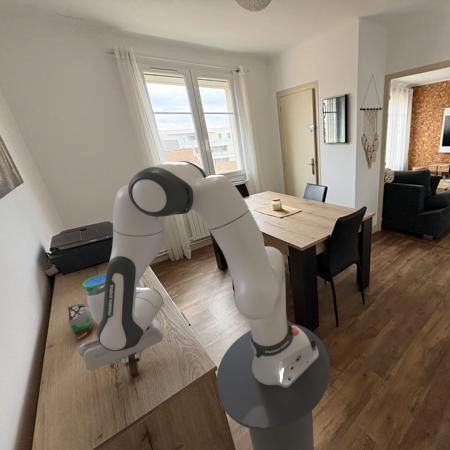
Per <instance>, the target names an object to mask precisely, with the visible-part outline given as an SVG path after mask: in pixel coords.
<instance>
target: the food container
mask: <svg viewBox="0 0 450 450" xmlns="http://www.w3.org/2000/svg"><path fill="white" fill-rule="evenodd" d="M66 309H67V310H68V325H69V326H70V328H71V330H72V331H73V333H74V335H75V337H76V338H77V340H78V341H81V340H83V339H84V338H86V337H88V336H90V334H91V333H92V332H93V331H94V329H95V327H94V324H93V320H92V318H91V317H92V316H91V312H90V310H89V307H88V305H86V304H84V303H76V304H72V305H69V306H67V308H66Z"/></svg>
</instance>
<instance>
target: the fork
mask: <svg viewBox="0 0 450 450" xmlns="http://www.w3.org/2000/svg"><path fill="white" fill-rule="evenodd" d="M136 354H137V352H135V353H133V354H130V355H128V356H127V358H128V360H129V366H128V369H129V375H130V377H131V378H132V379H136V378H138V377H140V370H139V361H138V362H136V360H135V355H136Z"/></svg>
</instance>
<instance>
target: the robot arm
mask: <svg viewBox="0 0 450 450" xmlns="http://www.w3.org/2000/svg"><path fill="white" fill-rule="evenodd" d="M190 211H195V212H196V213H197V214H199V216H200V217H201V218H202V220H203V221H204V223H205V225H206V226H207V228H208V230H209V231H210V233H211V235H212V237H213V238H214V240H215V241H216V243H217V245H218V247H219V249H220V250H221V252H222V254H223V256H224V258H225V261H226V264H227V267H228V270H229V274H230V277H231V281H232V284H233V289H234V296H235V307H236V309H237V311H238V313H239V314H241V315H242V316H243V317H245V318H247V319H248V321H249V326H250V330H251V345H252V350H253V352H254V359H253V364H252V372H253V375H254V377H255V378H256V379H257V380H258V381H259V382H261V383H263V384H266V385H279V386H282V387H285V388H288V387H289V386H291V385H292V384H293V383H294V382H295V381H296V380H297V379H298V378H299V377H300V375H301V374H302V373H303V372H304V371H305V370H306V369H307V368H308V367H309V366H310V365H311V364H312V363H313V362H314V361H315V360H316V359H317V358H318V357H319V353H318V349H317V347H316V343H315V338H314V337H313V336H312V334H311V333H310V332H309V330H310V329H308V330H306V331H304V332H303V331H302V330H301V329H300V328H298V327H296V326H292V324H293V323H292V322H290V321H289V320H288V319H287V318H288V317H287V300H286V299H287V295H286V293H287V292H286V291H287V290H286V289H287V288H286V267H285V260H284V256H283V253H282V252H281V251H280V250H279V249H278V248H276V247H275V246H274V247H273V246H269V245H268V246H266V245H265V239H264V235H263V232H262V230H261V229H260V226H259V225H258V223H257V221H256V218H255V217H254V215H253V213H252V211H251V209H250V208H249V206H248V204H247V202H246V200H245V199H244V197H243V196H242V194H241V192H240V191H239V190H238V188H237V187H236V186H235V185H234V183H233V182H232V181H231V179H229V178H228V177H227V176H226V175H220V174H215V175H209V176H207V174H206V171H205V170H204V169H203V168H202V167H201V166H200V165H198V164H197V163H194V162H192V161H187V160H186V161H184V160H180V161H175V162H164V163H160V164H157V165H153V166H151V167H146V168H144V169H142V170H140V171H139V172H136V174H134V175H133V177H132V178H131V179H130V181H129V183H128V184H126V185H123V186H121V187H120V188H119V189H118V190H117V191H116V194H115V198H114V202H113V211H112V212H113V213H112V234H113V235H112V244H111V245H112V247H111V253H110V258H109V260H108V261H109V262H108V265H107V268H106V273H105V274H106V280H105V283H103V284H100V285H98V286H97V287H96V288H94V289H93V290H92V291H91V292H90V293H87V296H86V302H87V307H88V308H89V310H90V316H91V317H92V319H93V321H94V322H95V323H96V324H97V327H96V338H94V339H91V340H88V341H85V342H83V343H82V345H80V346H79V347H78V349H77V352H78V354H79V355H80V357H83V362H84V366H85V369H86V370H87V371H90V372H92V371H95V370H97V369H98V370H99V369H100V368H103V367H104V366H107V365H109V364H111V363H114V362H116V363H117V364H121V365H123V367H124V368H127V367H129V360H128V355H130V354H133V353H135V352H136V355H135V360H136V362H138V363H139V362H140V361H142V360H143V359H142V354H143V352H144V351H143V350H144V349H147V348H149V347H151V346H154V345H156V344H159V343H161V342H163V340H164V338H165V336H164V331H163V329H162V326H161V324H160V322H159V321H158V320H157V319H155V318H156V317H157V315H158V314H159V313H160V311H161V309H163V306H164V298H163V296H162V294H161V292H159V291H158V290H157V289H155V288H153V287H149V286H144V287H141V288H137V285H138V283H139V280H140V278H141V279H142V277H143V275H144V274H145V272H146V270H147V269H148V267H149V266H150V265H151V264H153V261H154V260H155V259H156V258H157V256H158V255H159V254H160V252H161V251H162V248H163V245H164V242H165V236H166V217H170V216H176V215H186V214H188V213H189V212H190ZM291 323H292V324H291ZM126 357H127V358H126ZM289 379H290V381H289Z"/></svg>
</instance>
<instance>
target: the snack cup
mask: <svg viewBox="0 0 450 450" xmlns="http://www.w3.org/2000/svg"><path fill="white" fill-rule="evenodd" d="M105 280H106V273H102V274H98V275H97V274H96V275H94V276H92V277H90V278H88V279H86V280H84V281H83V283H82V288H83V289H85V290H86V292H87V294H89V293H90V292H91V291H92V290H93V289H94V288H96V287H97V286H98V285H100V284H103V283H105Z"/></svg>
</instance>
